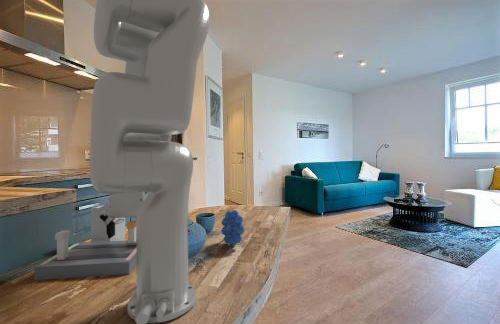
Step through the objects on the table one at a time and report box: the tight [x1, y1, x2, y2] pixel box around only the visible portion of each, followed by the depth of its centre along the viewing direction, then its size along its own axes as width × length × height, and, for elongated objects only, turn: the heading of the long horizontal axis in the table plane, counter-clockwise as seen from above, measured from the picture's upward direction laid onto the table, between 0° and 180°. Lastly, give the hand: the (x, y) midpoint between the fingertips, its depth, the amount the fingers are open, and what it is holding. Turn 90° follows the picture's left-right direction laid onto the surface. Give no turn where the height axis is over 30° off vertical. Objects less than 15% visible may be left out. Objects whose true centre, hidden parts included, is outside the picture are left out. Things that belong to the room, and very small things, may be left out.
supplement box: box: [90, 204, 126, 242], centre depth 81 cm, size 7×7×13 cm
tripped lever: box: [126, 220, 136, 245], centre depth 71 cm, size 3×2×6 cm
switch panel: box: [33, 229, 137, 281], centre depth 66 cm, size 17×21×10 cm
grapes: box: [220, 209, 245, 247], centre depth 79 cm, size 12×7×12 cm, turn 38°
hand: (128, 236), depth 71 cm, fingers open, 9 cm apart
